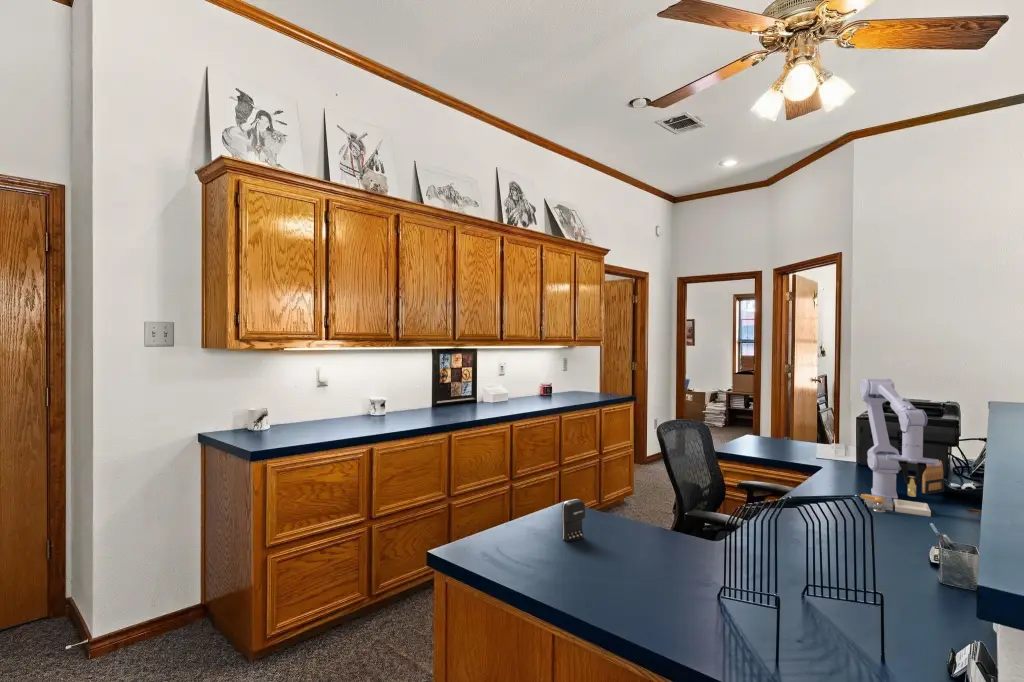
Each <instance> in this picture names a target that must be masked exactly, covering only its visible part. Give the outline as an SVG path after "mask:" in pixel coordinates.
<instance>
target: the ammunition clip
mask: <svg viewBox="0 0 1024 682" xmlns="http://www.w3.org/2000/svg"><path fill="white" fill-rule="evenodd" d="M943 465H944V464H943V461H942V460H939V466H935V465H926V466H927V468H926V470H925V471H924V473H923V474H922V477H921V478H922V479H920V481H921V483H920V493H921V494H923V495H932V494H938V493H944V492H945V477H944V469H943V467H944V466H943Z"/></svg>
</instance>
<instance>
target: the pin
mask: <svg viewBox="0 0 1024 682" xmlns="http://www.w3.org/2000/svg"><path fill="white" fill-rule="evenodd" d="M907 496H908V497H912V498H916V497H917V485H916V476H912V475H908V484H907Z"/></svg>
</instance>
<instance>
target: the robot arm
mask: <svg viewBox="0 0 1024 682" xmlns="http://www.w3.org/2000/svg"><path fill="white" fill-rule="evenodd" d="M895 389H896V388H895V382H894V381H893V380H892V379H891V378H866V377H865V378H863V379H861V381H860V385H859V391H860V395H861V399H862V401H863V402H864V403H865V404H866V410H867V415H868V421H869V425H870V430H871V436H872V441H873V446H871V447H870V448H869V449H868V450H867V453H866V455H867V465H868V468H870V470H871V471H872V487H871V489H870V491H871V495H877V496H885V497H891V498H892V499H897V500H899V496H898V493H897V474H899V472H900V471H902V474H903V478H904V484H906V485H908V476H909V475H908V472H909V465H908V463H909V464H915V466H916V468H915V469H916V472H915V473H916V475H915V477H916V486H920V481H921V480H922V479H921V478H922V477H923V473H924V471H925V470H926V468H927V466H926V465H935V466H939V462H940V460H939V459H938V458H937V459H936V458H928V457H924V455H923V452H924V449H923V448H924V427H926V426H927V424H928V416H927V415H928V414H927V413H926V412H925V410H924V409H919V408H916V407H915V406H914V405H913V404H912V403H911V402H910V401H909V400H908V399H907V398H906V397H902V396H901V395H899V394H898V392H897V391H896V390H895ZM886 402H889V403H890V404H889V405H890V408H891V410H892V411H894V413H895V414H896V415H897V416H898V422H899V425H900V430H901V432H902V437H901V439H902V440H901V441H902V442H901V444H902V445H901V454H900V452H899V450H898V448H895V447H894V446H892V445H891V443H890V438H889V434H888V430H887V429H888V428H887V425H886V419H885V414H884V410H883V404H885V403H886Z"/></svg>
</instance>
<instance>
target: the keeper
mask: <svg viewBox="0 0 1024 682" xmlns="http://www.w3.org/2000/svg"><path fill="white" fill-rule="evenodd" d="M861 497H862V498H861ZM860 498H861V499H864V500H865V499H868V500H873V501H876V502H884V498H882V497H874V496H869V495H865V493H863V494H860Z"/></svg>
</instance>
